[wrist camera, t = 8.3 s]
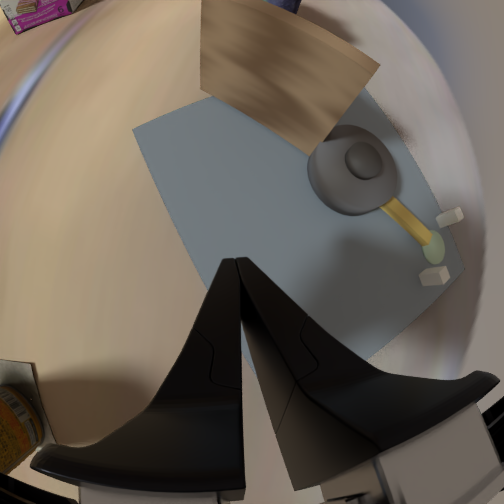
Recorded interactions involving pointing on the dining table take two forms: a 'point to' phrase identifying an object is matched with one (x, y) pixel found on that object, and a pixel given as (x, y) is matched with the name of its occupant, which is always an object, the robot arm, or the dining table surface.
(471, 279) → the dining table surface
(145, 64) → the dining table surface
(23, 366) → the condiment
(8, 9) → the candy bar box
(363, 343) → the stand
